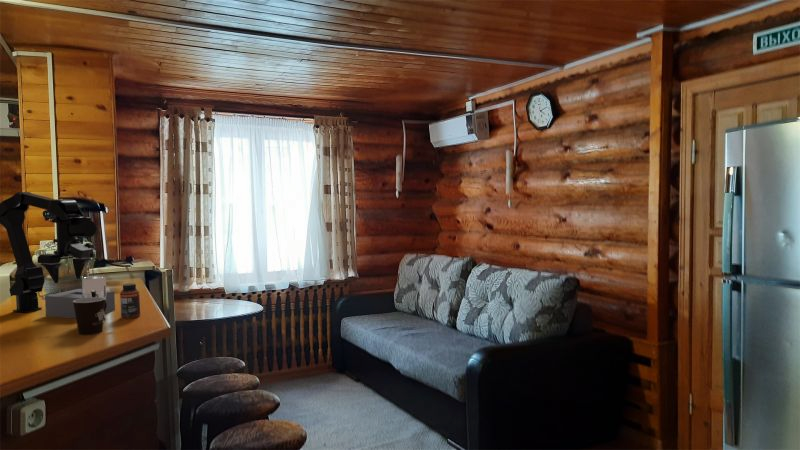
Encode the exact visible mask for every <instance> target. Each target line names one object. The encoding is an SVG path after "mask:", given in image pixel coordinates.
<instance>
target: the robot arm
mask: <svg viewBox="0 0 800 450" xmlns="http://www.w3.org/2000/svg"><path fill="white" fill-rule="evenodd" d="M30 206H31V207H35V208H37V209H38V208H39V209H43V210H45V211H48V212H49V214H50V215H53V216H55V217H54V218H52V219H51V220H50V222H51V224H53V223H55V224H56V229H55V230H56V238H54V239H53V243H56V250H54V252H53V253H43V254H39V255H38V256H37V264H40V265H41V266H37V265H36V264H35V263H34V260H33V257H32V252H31V251H30V247H29V246H30V245H29V244H28V240H27V237H26V233H25V230H24V227H23V225H24V222H25V220H26V215H25V213H26V212H27V211H28V210H29V209H30ZM0 225H1V226H3V227H4V228H5V230H6V232H7V236H8V240H9V243H10V246H11V250H12V254H13V257H14V260H15V263H16V266H17V267H16V271H15V274H14V281H15V282H14V283H13V284H12V286H11V287H10V288H9V293H10V296H15V301H16V308H15V309H12V312H16V313H30V312H34V311H38V310H42V309H43V307H40V306H39V297H38V293H42V291H43V289H44V284H45V281H46V279H45V277H46V275H45V274H44V269H43V267H44V268H45V269H46V271H47V273H48V274H49V276H50V277H51V279H52V281H53V282H54V284H59V279H60V277H59V276H60V275H59V272H60V270H59V268H60V267H61V265H62V263H60V262H61V261H62V260H68V259H69V260H70V259H71V261H72V265H73V270H74V275H75V278H76V279H78V280H79V279H81V276H82V273H83V270H84V268H85V265H86V263H88V262H90V261H91V260H92V258H94V257H95V252H94V243H91V242H87V243H83V244H82V243H80V239H79V238H92V237H94V236H95V234H96V233H97V226H96V224H95V222H94V221H92V217H90V216H85V214H84V213H83V211H82V210H81V208H80V207H79V205H78V203H77V201H76V200H75V199H66V198H65V199H64V198H63V199H55V198H52V197H47V196H44V195H40V194H36V193H32V192H30V191H17V192H16V193H14V194H13V195H12V196H11V197H8V198H7V199H5V200H3V201H1V202H0ZM77 237H79V238H77ZM42 266H43V267H42Z"/></svg>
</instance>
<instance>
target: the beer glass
mask: <svg viewBox="0 0 800 450" xmlns="http://www.w3.org/2000/svg"><path fill="white" fill-rule="evenodd" d="M81 289H82V296H83V298H89V297H103V298H105V300H106V290H107V282H106V276H105V275H89V276H85V277H82V281H81ZM105 314H106V313H104V319H103V324H105V323H106V322H107V319H106V315H105Z"/></svg>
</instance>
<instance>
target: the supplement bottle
mask: <svg viewBox="0 0 800 450" xmlns="http://www.w3.org/2000/svg"><path fill="white" fill-rule="evenodd" d="M140 299H141V298H140V290H139V289H137V285H136V283H132V282H131V283H130V282H129V283H123V284H122V290H121V291H120V293H119V301H120V302H119V303H120V316H121V318H122V319H125V318H126V319H127V318H129V319H136V318H139V317H141V302H140ZM135 317H136V318H135ZM127 320H128V319H127Z"/></svg>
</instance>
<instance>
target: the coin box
mask: <svg viewBox="0 0 800 450" xmlns="http://www.w3.org/2000/svg"><path fill="white" fill-rule="evenodd" d="M115 295H116V294H115V290H107V289H106V300H105V301H106V304H107V306H106V310H105V312H104V314H107V313H111V312H113V311H114V312H115V310H116V302H115V300H116V299H115V298H116V297H115ZM81 298H83V296H82V288H76V289H72V290H71V289H70V290H66V291H63V292H57V293H53V294H47V295H44V301H45V306H44V307H45V317H52V318H54V317H55V318H64V319H76V315H75V310H74V304H73V301H74V300H77V299H81Z"/></svg>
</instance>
